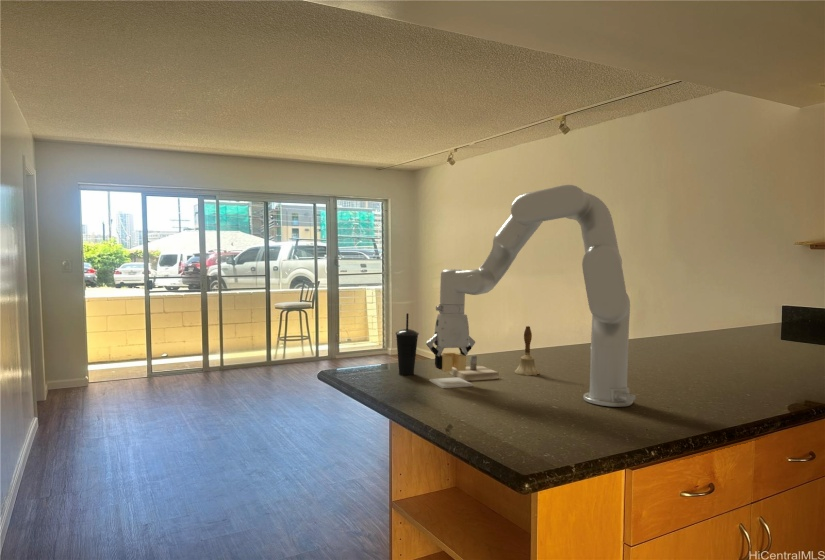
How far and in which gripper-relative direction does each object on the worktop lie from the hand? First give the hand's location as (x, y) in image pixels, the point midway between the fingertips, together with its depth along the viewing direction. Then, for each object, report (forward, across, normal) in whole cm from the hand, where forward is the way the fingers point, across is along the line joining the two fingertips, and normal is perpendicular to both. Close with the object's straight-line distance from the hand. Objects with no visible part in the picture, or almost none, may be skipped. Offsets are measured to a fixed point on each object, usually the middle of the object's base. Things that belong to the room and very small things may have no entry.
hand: (450, 367), depth 165 cm
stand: (+5, +12, +8) cm, 15 cm away
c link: (0, 0, 0) cm, 0 cm away
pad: (+5, 0, 0) cm, 5 cm away
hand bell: (+5, +32, +7) cm, 33 cm away
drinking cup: (+5, -8, +17) cm, 19 cm away
